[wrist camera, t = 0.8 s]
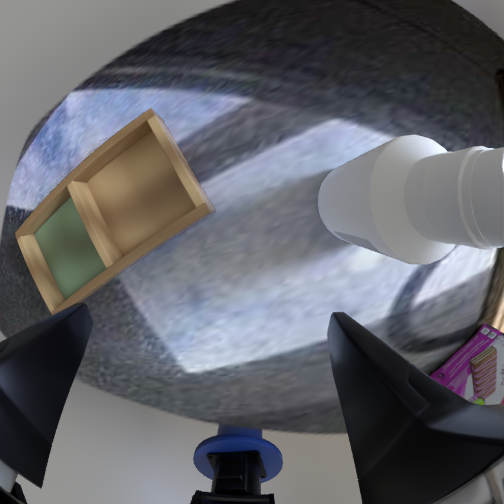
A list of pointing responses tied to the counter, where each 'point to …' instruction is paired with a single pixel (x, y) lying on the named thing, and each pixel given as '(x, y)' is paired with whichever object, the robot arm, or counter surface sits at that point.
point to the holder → (111, 212)
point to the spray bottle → (417, 199)
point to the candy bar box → (476, 368)
